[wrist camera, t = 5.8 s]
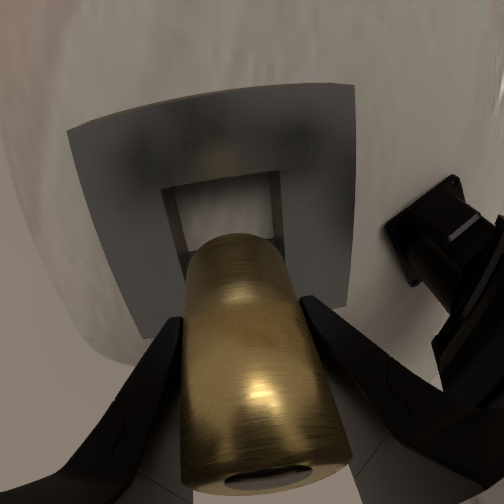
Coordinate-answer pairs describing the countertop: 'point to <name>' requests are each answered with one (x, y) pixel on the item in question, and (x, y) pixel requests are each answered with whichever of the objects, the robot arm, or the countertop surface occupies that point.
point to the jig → (215, 167)
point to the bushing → (252, 377)
